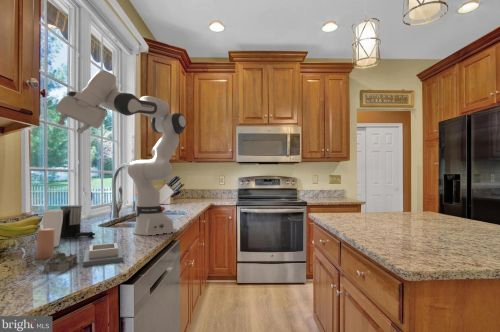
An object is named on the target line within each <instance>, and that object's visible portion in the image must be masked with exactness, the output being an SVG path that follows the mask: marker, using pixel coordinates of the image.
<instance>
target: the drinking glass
mask: <svg viewBox="0 0 500 332" xmlns="http://www.w3.org/2000/svg"><path fill="white" fill-rule="evenodd" d="M62 221H63V210H61V209H47V210H43V214H42V229H48V228H53V229H55V237H54V248H57V247H59V246H60V242H61V241H60V240H61V238H60V235H61V228H62Z"/></svg>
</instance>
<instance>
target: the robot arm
mask: <svg viewBox="0 0 500 332" xmlns="http://www.w3.org/2000/svg"><path fill="white" fill-rule="evenodd" d="M117 82H118V77H117V76H115V75H114V74H113V73H112V72H110V71H106V70H99V71H97V72H96V73H95V74H94V75H93V76H92V77H91V78H90V80H89V81H88V82H87V85H86V87H84V88H83V89H82V90H80V91H74V90H73V91H71V90H68V91H67V92H66V95H67V96H64V97H62V99H61V100H60V101H59V102H58V103H57V104H56V106H55V110H56V111H57V112H58V113H59V114H60V115H59V120H58V122H57V124H59V125H60V126H62V127H63V126H65V124H66V121H65V120H66V119H68V118H71V119H72V120H75V121H78V122H80V123H82V124H83V125H82V126H81V127H78V128H77V129H76V132H77V133H78V134H80V135H81V134H83V133H84V132H85V131H87V130H88V129H89V128H91V127H92V128H94V129H95V130H97V129H100V128H101V126H102V124H103V122H104V120H105V118H106V116H107V115H108V111H107V110H110V111H113V112H115V113H119V114H121V115H123V116H127V117H128V116H129V117H130V116H132V115H136V114H141V115H143V116H145V117H151V120H150V128H151V129H152V131H153V132H154V133H156V134H162V136H160V138H159V139H158V141H157V142H156V143H155V145H154V146H153V147H152V149H151V156H152V158H150V159H137V160H134V161H133V160H132V161H131V162H129V164H128V166H127V174H128V175H129V177H130V178H131V179H132V181H133V182H134V184H135V186H136V187H135V188H136V189H137V190H136V192H137V205H136V209H135V216H136V217H135V218H136V220H135V225H134V229H133V231H132V233H133V234H134V235H140V236H148V235H152V236H157V235H156V234H159V235H164V234H163V233H167V234H175V233H177V232H178V228H177V227H175V226H174V223H173V220H172V218H171V217H169V216H168V215H167V214H166V213H164V211H166V207H164V206H161V205H160V200H161V199H160V195H161V193H160V190H159V189H158V188H157V187H155V185H154V183H153V181H164V180H167V179H169V178H171V177H172V174H173V166H172V164H171V162H170V160H171V158H172V156H173V155H174V154H175V152H176V150H177V148H178V145H179V144H180V137H179V135H181V134H182V133H183V132H184V130H185V129H186V126H187V119H186V116H185V115H184V114H183V113H180V112H174V113H170V105H169V104H168V102H167V101H165V100H163V99H161V98H158V97H155V96H151V95H150V96H149V95H145V96H141V97H140V98H138V97H137V96H136V95H134V94H132V93H129V92H125V91H120V90H119V87H118V83H117ZM171 232H173V233H171Z"/></svg>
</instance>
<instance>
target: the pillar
mask: <svg viewBox="0 0 500 332" xmlns="http://www.w3.org/2000/svg"><path fill="white" fill-rule="evenodd" d="M36 237H37V239H36V254H35V255H36V257H35V258H36V260H48V259H49V258H50V257H52V256H53V254H54V253H55V247H54V237H55V229H53V228H48V229H43V228H41V229H37V236H36Z"/></svg>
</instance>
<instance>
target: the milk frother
mask: <svg viewBox="0 0 500 332" xmlns="http://www.w3.org/2000/svg"><path fill="white" fill-rule="evenodd" d="M82 207H83V205H63V206H60V210H63V221H62V228H61V235H60V239H74V238H78V237H88V238H92V237H93V236H96V233H94V232H93V231H89V232H87V231H83V232H81V224H82V221H81V220H82Z"/></svg>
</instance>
